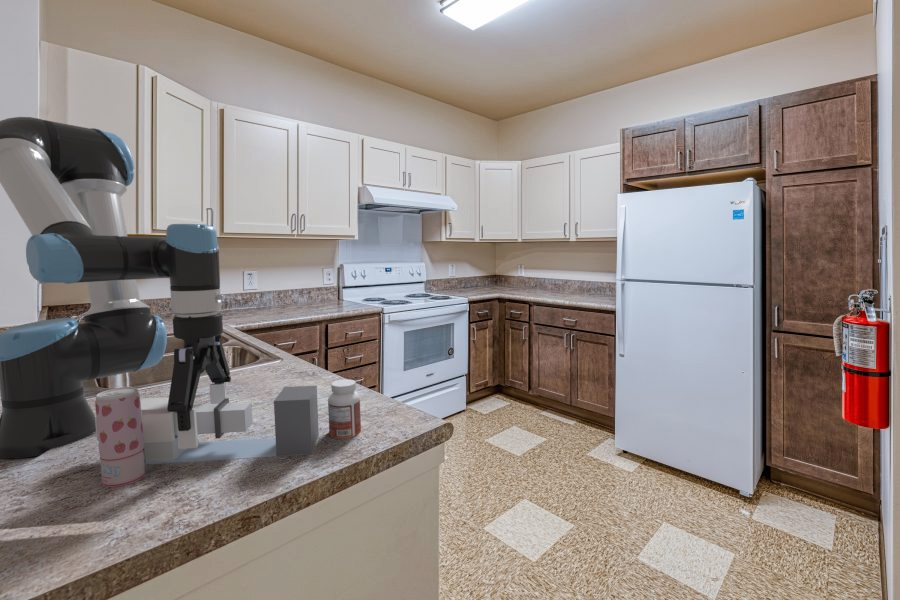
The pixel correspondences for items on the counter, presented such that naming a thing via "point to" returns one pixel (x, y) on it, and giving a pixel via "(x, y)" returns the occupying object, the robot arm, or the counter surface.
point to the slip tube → (219, 418)
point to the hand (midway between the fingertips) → (205, 430)
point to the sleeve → (159, 430)
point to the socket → (296, 420)
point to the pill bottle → (344, 410)
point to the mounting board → (227, 450)
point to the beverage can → (120, 436)
